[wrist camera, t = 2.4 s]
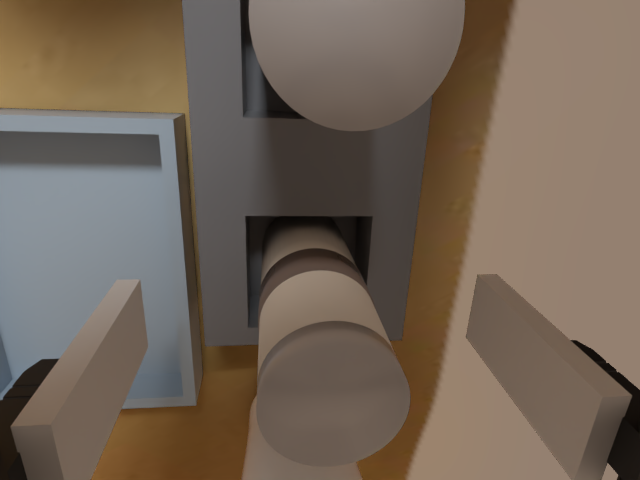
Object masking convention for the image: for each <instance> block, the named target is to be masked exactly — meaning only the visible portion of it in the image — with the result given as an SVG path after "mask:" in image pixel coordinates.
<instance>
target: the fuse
mask: <svg viewBox="0 0 640 480" xmlns="http://www.w3.org/2000/svg"><path fill="white" fill-rule="evenodd" d="M464 16H465V0H249V26H250V33H251V38H252V43H253V47H254V50H255V53H256V57H257V60H258V62H259V64H260V66H261V68H262V71H263V73H264V75H265V76H266V78H267V80H268V81H269V83H270V84H271V86H272V87H273V89H274V90H275V91H276V92H277V94H278V95H279V96H280V97H281V98H282V99H283V100H284V101H285V102H286V103H287V104H288V105H289V106H290V107H291V108H292V109H294V110H295V111H296V112H298V113H299V114H300V115H302V116H303V117H305V118H307V119H309V120H311V121H313V122H314V123H317V124H320V125H322V126H325V127H328V128H332V129H337V130H343V131H367V130H372V129H378V128H381V127H384V126H387V125H390V124H392V123H395V122H397V121H399V120H401V119H403V118H404V117H406V116H408V115H409V114H411V113H412V112H414V111H415V110H416V109H418V108H419V107H420V106H421V105H422V104H424V103H425V102H426V101H427V100H428V99H429V97H430V96H431V95H432V94H433V93H434V92H435V91H436V89H437V88H438V87H439V85H440V84H441V83H442V81H443V80H444V78H445V76H446V75H447V73H448V71H449V70H450V68H451V65H452V63H453V61H454V59H455V56H456V54H457V51H458V48H459V44H460V41H461V37H462V32H463V27H464Z"/></svg>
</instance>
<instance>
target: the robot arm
mask: <svg viewBox="0 0 640 480" xmlns="http://www.w3.org/2000/svg"><path fill="white" fill-rule="evenodd" d="M466 338H467V339H468V340H469V342H470V343H471V345H472V346H473V347H474V349H475V350H476V351H477V353H478V354H479V355H480V357H481V358H482V359H483V361H484V362H485V363H486V365H487V366H488V368H489V369H490V370H491V372H492V373H493V374H494V376H495V377H496V378H497V380H498V381H499V383H500V384H501V385H502V387H503V388H504V389H505V390H506V392H507V393H508V394H509V396H510V397H511V399H512V400H513V401H514V403H515V404H516V406H517V407H518V408H519V410H520V411H521V412H522V413H523V415H524V416H525V418H526V419H527V420H528V422H529V423H530V424H531V426H532V427H533V428H534V429H535V431H536V433H537V434H538V435H539V436H540V438H541V439H542V440H543V442H544V443H545V445H546V446H547V447H548V449H549V450H550V451H551V453H552V454H553V456H554V457H555V458H556V460H557V461H558V462H559V464H560V465H561V466H562V468H563V469H564V470H565V472H566V473H567V474H568V476H569V477H570V478H571V480H601V479H602V476H603V474H604V471H605V468H606V466H607V463H609V465H610V466H611V467H612V468H613V469H614V470H615V472H616V473H617V474H618V478H617V480H640V390H639V389H638V388H637V387H636V386H634V385H633V384H632V383H631V382H630V381H628V379H626V378H625V377H624V376H623V375H622V374H620V373H619V372H617V371H616V369H615V368H614V367H612V366H611V365H610V364H609V363H606V361H605V360H604V359H603V358H602V357H601V356H600V355H599V354H597V353H596V352H595V351H594V350H593V349H591V348H589V347H587V346H585V345H583V344H582V343H580V342H578V341H576V340H569V339H568V338H567V337H566V336H565V335H564V334H563V333H562V332H560V331H559V330H558V329H557V328H556V327H555V326H554V325H553V324H552V323H550V322H549V321H548V320H547V319H546V318H545V317H543V315H541V314H540V313H539V312H538V311H537V310H536V309H535V308H534V307H533V306H531V305H530V304H529V303H528V302H527V301H526V300H525V299H524V298H523V297H521V296H520V295H519V294H518V293H517V292H516V291H515V290H513V289H512V288H511V287H510V286H509V285H508V284H507V283H505V281H503V280H502V279H501V278H500V277H499V276H498V275H497V274H495V275H493V274H492V275H477V280H476V285H475V291H474V297H473V301H472V307H471V312H470V318H469V323H468V328H467V334H466ZM147 349H148V339H147V331H146V323H145V315H144V307H143V299H142V290H141V282H140V279H126V280H116V282H115V283H114V284H113V286H112V287H111V288H110V290H109V291H108V293H107V294H106V295H105V297H104V298H103V299H102V301H101V302H100V304H99V305H98V306H97V308H96V309H95V310H94V312H93V313H92V315H91V316H90V317H89V319H88V320H87V322H86V323H85V324H84V326H83V327H82V328H81V330H80V331H79V333H78V334H77V335H76V337H75V338H74V339H73V341H72V342H71V344H70V345H69V346H68V348H67V349H66V351H65V352H64V353H63V355H62V356H61V357H60V359H41V360H40V361H38V362H37V363H35V364H34V365H32V366H31V367H30V368H28V369H27V370H25V371H24V372H23V373H22V374H21V376H20V377H19V378H18V379H17V380H16V382H15V383H14V384H13V385H12V386H13V387H12V388H10V389H9V390H8V392H7V393H6V394H5V395H4V396H3V400H0V480H91V478H92V476H93V473H94V471H95V469H96V466H97V464H98V462H99V460H100V457H101V455H102V453H103V450H104V448H105V446H106V443H107V441H108V439H109V437H110V434H111V432H112V430H113V427H114V425H115V423H116V420H117V418H118V416H119V413H120V411H121V409H122V407H123V404H124V402H125V400H126V397H127V395H128V393H129V390H130V388H131V386H132V384H133V381H134V379H135V377H136V374H137V372H138V370H139V367H140V365H141V363H142V361H143V358H144V356H145V354H146V351H147Z"/></svg>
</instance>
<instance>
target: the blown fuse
mask: <svg viewBox="0 0 640 480" xmlns="http://www.w3.org/2000/svg"><path fill="white" fill-rule="evenodd" d="M258 331H259V348H258V376H257V404H256V416H257V422H258V426H259V429H260V431H261V433H262V436H263V437H264V439H265V440H266V441H267V443H268V444H269V445H270V446H271V447H272V448H273V449H274V450H275V451H277V452H278V453H279V454H281V455H282V456H284V457H286V458H288V459H290V460H292V461H294V462H297V463H301V464H304V465H309V466H318V467H333V466H341V465H346V464H350V463H353V462H357V461H360V460H362V459H364V458H367V457H369V456H370V455H372V454H374V453H376V452H377V451H379V450H380V449H382V448H383V447H384V446H386V445H387V444H388V443H389V442H390V441H391V440H392V439H393V438H394V437H395V436H396V435H397V433H398V432H399V431H400V429H401V428H402V426H403V424H404V422H405V420H406V418H407V415H408V412H409V408H410V398H411V396H410V388H409V384H408V381H407V379H406V377H405V374H404V372H403V370H402V368H401V365H400V363H399V361H398V359H397V356H396V354H395V352H394V350H393V348H392V345H391V343H390V341H389V339H388V336H387V334H386V332H385V330H384V327H383V325H382V323H381V321H380V318H379V316H378V314H377V312H376V308H375V305H374V301H373V299H372V297H371V295H370V293H369V290H368V288H367V286H366V284H365V282H364V279H363V277H362V275H361V273H360V271H359V270H358V268H357V267H356V265H355V262H354V260H353V258H352V256H351V253H350V251H349V249H348V247H347V245H346V242H345V240H344V238H343V236H342V233H341V231H340V229H339V227H338V226H337V224H336V223H335V222H334V221H333V220H332V219H331V218H330V217H329V216H279V217H277V218H276V219H275V220H274V221H273V222H272V223H271V224H270V226H269V227H268V228H267V230H266V232H265V235H264V238H263V242H262V265H261V287H260V292H259V309H258Z"/></svg>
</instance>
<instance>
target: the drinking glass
mask: <svg viewBox="0 0 640 480" xmlns="http://www.w3.org/2000/svg"><path fill="white" fill-rule="evenodd" d="M256 404H257V395H256V396H255V398H254V400H253V402H252V405H251V409H250V415H249V431H248V440H247V446H246V453H245V459H244V465H243V472H242V478H241V480H363V479H362V476H361V473H360V470H359V467H358V464H357V462H353V463H350V464H346V465H341V466H333V467H318V466H309V465H304V464H301V463H297V462H294V461H292V460H290V459H288V458H286V457H284V456H282V455H281V454H279V453H278V452H277V451H275V450H274V449H273V448H272V447H271V446H270V445H269V444H268V443H267V441H266V440H265V439H264V437H263V436H262V433H261V431H260V429H259V426H258V422H257V416H256Z"/></svg>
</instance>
